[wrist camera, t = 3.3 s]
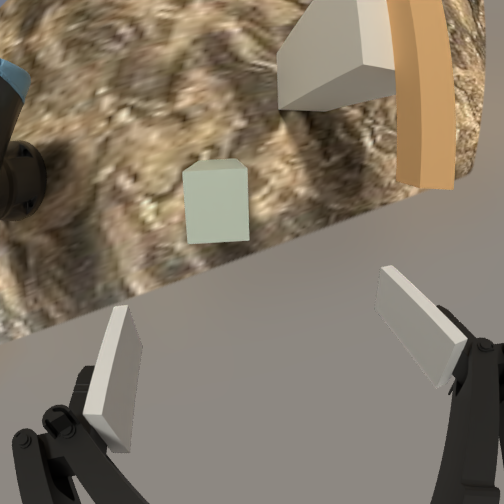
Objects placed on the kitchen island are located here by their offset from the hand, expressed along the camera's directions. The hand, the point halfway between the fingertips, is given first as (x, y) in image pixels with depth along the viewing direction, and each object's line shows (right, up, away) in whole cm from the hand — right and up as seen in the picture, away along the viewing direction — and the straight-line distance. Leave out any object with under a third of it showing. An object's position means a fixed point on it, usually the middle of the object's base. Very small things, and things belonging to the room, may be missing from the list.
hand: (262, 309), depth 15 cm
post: (+8, +31, +30) cm, 44 cm away
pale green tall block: (-6, +14, +34) cm, 38 cm away
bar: (+11, +18, +1) cm, 21 cm away
